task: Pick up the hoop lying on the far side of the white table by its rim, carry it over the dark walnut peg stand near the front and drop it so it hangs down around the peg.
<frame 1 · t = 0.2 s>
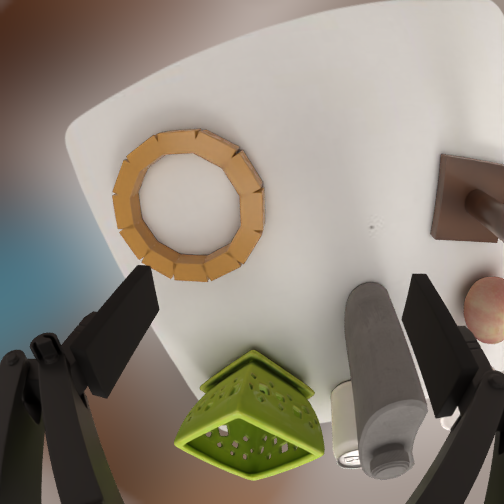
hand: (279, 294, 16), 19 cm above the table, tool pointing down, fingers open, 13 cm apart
hoop: (189, 205, 34), on the table
flower pot: (258, 380, 45), on the table
flask: (367, 331, 39), on the table
can: (351, 391, 44), on the table
apple: (478, 290, 34), on the table
peg stand: (469, 198, 29), on the table
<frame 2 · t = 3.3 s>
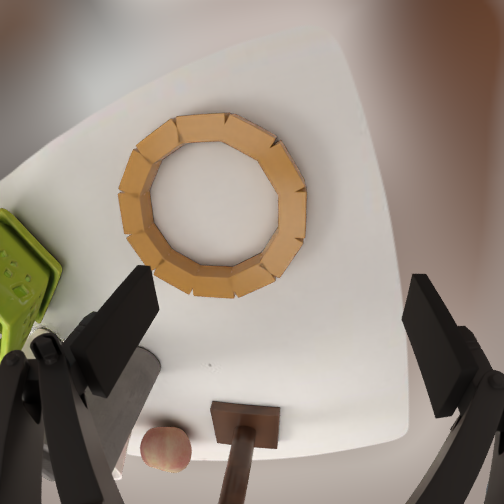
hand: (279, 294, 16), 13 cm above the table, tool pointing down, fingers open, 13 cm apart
hoop: (212, 205, 28), on the table
flower pot: (29, 262, 35), on the table
flask: (113, 357, 40), on the table
can: (51, 343, 41), on the table
apple: (174, 428, 45), on the table
peg stand: (247, 423, 41), on the table
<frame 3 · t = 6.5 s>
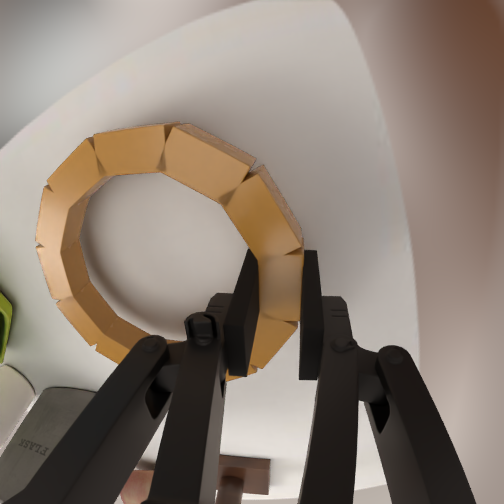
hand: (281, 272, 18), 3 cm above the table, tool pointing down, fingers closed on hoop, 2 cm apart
hoop: (162, 264, 19), point 2 cm above the table, touching gripper
flask: (82, 402, 32), on the table
can: (19, 380, 33), on the table
apple: (156, 469, 38), on the table
peg stand: (234, 470, 34), on the table
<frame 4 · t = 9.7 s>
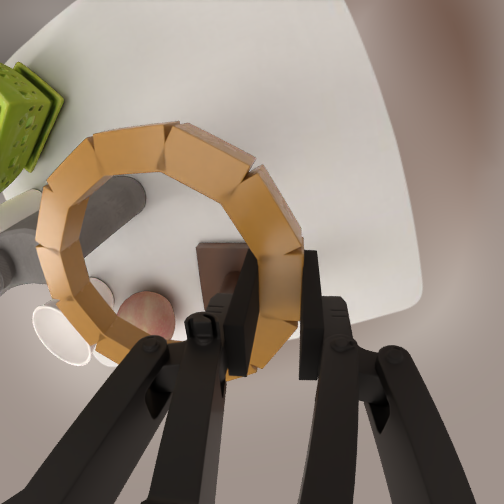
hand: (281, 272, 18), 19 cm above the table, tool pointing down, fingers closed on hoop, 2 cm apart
hoop: (162, 263, 19), point 19 cm above the table, touching gripper
cup: (98, 293, 45), on the table
flower pot: (32, 114, 34), on the table
flask: (98, 203, 39), on the table
can: (38, 208, 40), on the table
apple: (157, 303, 45), on the table
peg stand: (238, 276, 41), on the table
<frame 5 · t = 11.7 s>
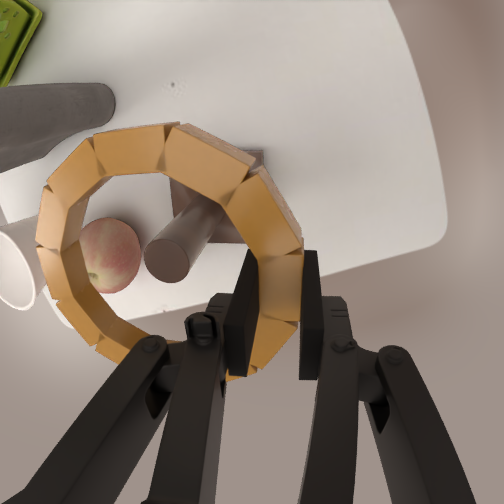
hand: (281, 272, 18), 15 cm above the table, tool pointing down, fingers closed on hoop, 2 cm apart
hoop: (162, 264, 19), point 15 cm above the table, touching gripper
cup: (60, 231, 37), on the table
flower pot: (11, 38, 26), on the table
flask: (65, 119, 30), on the table
apple: (123, 239, 36), on the table
peg stand: (218, 195, 32), on the table
when the fingers open (12 cm above the table, at t = 13.0 s): hoop drops 10 cm, resting on peg stand.
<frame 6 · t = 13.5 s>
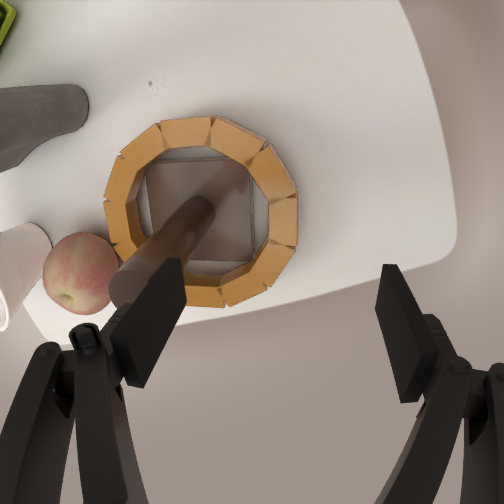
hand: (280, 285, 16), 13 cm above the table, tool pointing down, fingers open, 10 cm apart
hoop: (200, 212, 27), point 1 cm above the table, touching peg stand
cup: (37, 244, 33), on the table
flask: (38, 124, 27), on the table
apple: (102, 254, 32), on the table
peg stand: (202, 207, 29), on the table
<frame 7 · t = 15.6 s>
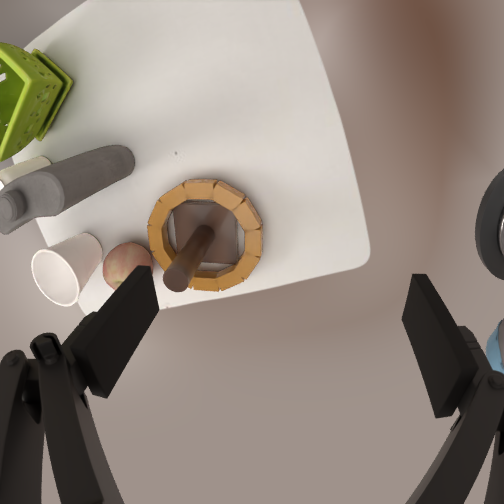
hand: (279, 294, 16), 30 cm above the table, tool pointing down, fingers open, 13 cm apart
hoop: (206, 234, 46), point 1 cm above the table, touching peg stand
cup: (90, 247, 52), on the table
flower pot: (44, 93, 41), on the table
flask: (96, 168, 46), on the table
can: (43, 173, 47), on the table
apple: (139, 256, 51), on the table
peg stand: (207, 230, 48), on the table
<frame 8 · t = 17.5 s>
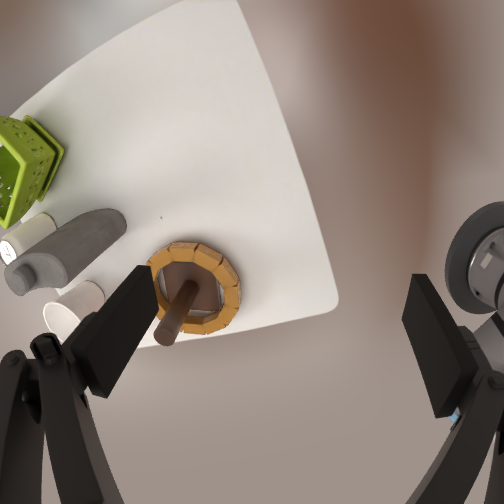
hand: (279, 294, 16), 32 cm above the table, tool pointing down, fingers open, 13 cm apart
hoop: (191, 287, 53), point 1 cm above the table, touching peg stand
cup: (93, 292, 59), on the table
flower pot: (40, 156, 48), on the table
flask: (92, 227, 52), on the table
can: (47, 227, 54), on the table
peg stand: (193, 283, 54), on the table
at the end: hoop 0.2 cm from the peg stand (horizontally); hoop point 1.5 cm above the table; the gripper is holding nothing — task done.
